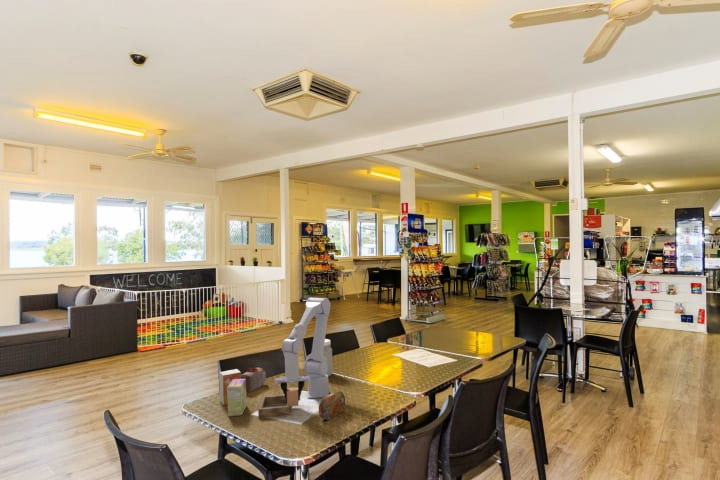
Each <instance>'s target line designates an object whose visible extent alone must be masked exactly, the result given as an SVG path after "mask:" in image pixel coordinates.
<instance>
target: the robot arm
mask: <svg viewBox="0 0 720 480" xmlns="http://www.w3.org/2000/svg"><path fill="white" fill-rule="evenodd" d="M331 305H332V304H331V302H330V300H329V298H328V297H313V296H312V297H311V296H310V297H308V298H307V300H306V302H305V310H304V312H303V314H302V317H301V318H300V321H299V323H296V324H295V325H294V327H293V328H292V330H291V332H290V334H289V335H288V337H287V338H286V339H284V340H283V341H282V343H281V344H282V345H281V347H280V348H281V351H282V353H283V357H284V366H285V367H284V371H285V372H284V373H285V374H284V375H285V376H283V377H275V378H274V385H279V384H280V389H281V391H282V393H283V395H285V399H286V401H287V389H288V384H292V383H293V384H294V383H297V387H298V400H299V401H301V395H302V392H303V388H304V386H305V383H307V384H308V385H307V387H308V388H307V390H308V391H307V398H308V399H316V398H319V399H320V398H324V397H326V396H328V395H329V392H330V386H329V376H328V375H325V374H326V372H327V369H328V366H327V358H326V357H325V356H324V355H323V349H324V342H325V339H326V335H327V334H326V333H327V326H328V320H329V317H330V311H331ZM314 317H315V327H314V333H313V340H312V347H311V353H310V354H308V355H307V356H306V359H305V362H304V364H303V370H304V373H305V374H306V376H304V375H300V362H299V360H300V359H299V353H300V351H301V349H302V344H303V339H304V338H305V336H306V335H307V334H306V333H307V332H308V329H307V327H308V326H309V324H310V322H311V321H312V319H313V318H314ZM314 359H317V360H320V361H315V360H314Z"/></svg>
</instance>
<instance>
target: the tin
mask: <svg viewBox="0 0 720 480" xmlns="http://www.w3.org/2000/svg"><path fill="white" fill-rule="evenodd" d="M345 404H346V398H345V394H344V392H343V391H337V390H335V391H333V392H331V393H330V394H329V395H328V396H326V397H322V398H321V400H320V402H319V404H318V415H319V417H320V418H321V419H322V420H326V421H330V420H332V419H333V418H335V417H336V416H338V415H339V414H340V413H342V412H343V410H344V409H345Z"/></svg>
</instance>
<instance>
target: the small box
mask: <svg viewBox="0 0 720 480" xmlns="http://www.w3.org/2000/svg"><path fill="white" fill-rule="evenodd" d="M218 375H219V376H218V377H219V379H218V380H219V401H220V403H221V404H222V405H223V406H225V405H228V398H227V387H228V386H229V384H230V383H231V381H232V380H233V379H241V375H242V372H241V371H240V370H239V369H238V368H235V369H230V370H229V369H228V370H225V371H219V374H218Z"/></svg>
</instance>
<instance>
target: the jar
mask: <svg viewBox="0 0 720 480" xmlns="http://www.w3.org/2000/svg"><path fill="white" fill-rule="evenodd" d="M331 344H332V343H331V339H328V338H325V342H324V349H323V355H324V356H325V357H326V358H327V366H328V369H327V372H326V374H325V375H328V377H331V376H332V374H333V370H334V369H333V366H334V365H333V348H332V347H331V346H332V345H331ZM314 360H315V361H320V360H317V359H314Z"/></svg>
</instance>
